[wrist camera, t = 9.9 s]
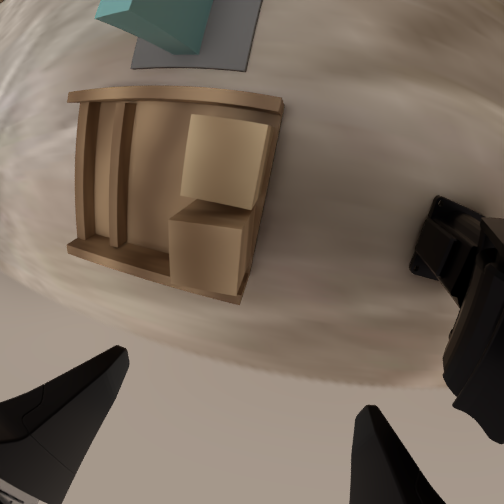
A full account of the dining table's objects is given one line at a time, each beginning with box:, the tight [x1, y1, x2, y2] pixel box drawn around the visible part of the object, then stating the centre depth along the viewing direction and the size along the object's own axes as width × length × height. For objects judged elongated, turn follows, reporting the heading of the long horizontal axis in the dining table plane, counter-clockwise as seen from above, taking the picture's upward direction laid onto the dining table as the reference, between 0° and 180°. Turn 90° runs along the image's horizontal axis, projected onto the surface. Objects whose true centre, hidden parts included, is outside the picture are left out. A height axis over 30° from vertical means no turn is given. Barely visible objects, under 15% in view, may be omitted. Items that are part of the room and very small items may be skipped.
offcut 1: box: [180, 114, 274, 210], centre depth 15 cm, size 4×4×4 cm
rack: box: [67, 86, 284, 305], centre depth 17 cm, size 15×13×4 cm
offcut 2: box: [168, 199, 256, 296], centre depth 17 cm, size 4×4×5 cm
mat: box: [130, 0, 262, 72], centre depth 13 cm, size 9×12×1 cm
